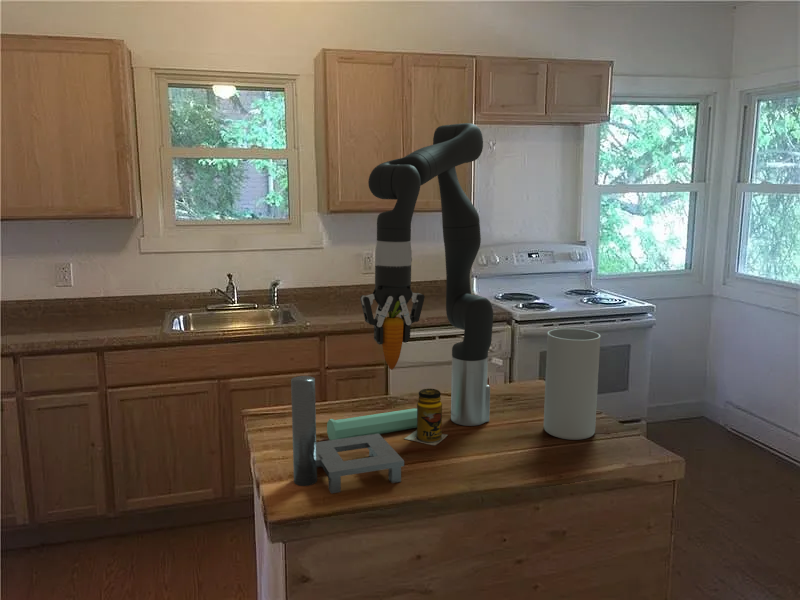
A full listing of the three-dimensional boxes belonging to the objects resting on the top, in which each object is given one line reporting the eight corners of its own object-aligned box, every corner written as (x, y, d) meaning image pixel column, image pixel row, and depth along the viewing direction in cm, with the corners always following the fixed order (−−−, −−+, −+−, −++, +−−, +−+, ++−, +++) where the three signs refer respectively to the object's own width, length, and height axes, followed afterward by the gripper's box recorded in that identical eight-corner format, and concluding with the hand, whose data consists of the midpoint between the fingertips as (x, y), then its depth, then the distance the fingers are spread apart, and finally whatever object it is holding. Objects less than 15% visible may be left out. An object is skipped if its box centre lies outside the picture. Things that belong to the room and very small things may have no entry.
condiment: (435, 446, 157) (436, 397, 155) (403, 439, 161) (404, 392, 159) (448, 435, 163) (449, 389, 161) (417, 429, 167) (418, 384, 165)
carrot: (376, 367, 142) (377, 298, 140) (398, 365, 144) (399, 297, 142) (384, 373, 138) (385, 302, 135) (406, 371, 140) (408, 301, 137)
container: (419, 400, 171) (328, 414, 160) (430, 415, 166) (336, 430, 155) (415, 418, 174) (325, 432, 163) (425, 433, 169) (333, 449, 158)
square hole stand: (378, 453, 152) (378, 360, 149) (404, 482, 138) (404, 380, 134) (286, 467, 145) (283, 370, 141) (302, 499, 130) (299, 392, 126)
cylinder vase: (553, 419, 174) (557, 326, 170) (600, 428, 168) (606, 332, 164) (536, 434, 164) (540, 336, 160) (586, 444, 158) (592, 342, 153)
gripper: (418, 260, 143) (416, 336, 146) (354, 261, 138) (354, 341, 141) (432, 263, 136) (430, 344, 139) (366, 265, 131) (365, 349, 134)
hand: (391, 342), depth 140 cm, fingers closed on carrot, 5 cm apart
